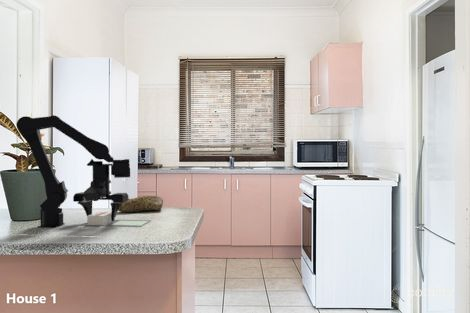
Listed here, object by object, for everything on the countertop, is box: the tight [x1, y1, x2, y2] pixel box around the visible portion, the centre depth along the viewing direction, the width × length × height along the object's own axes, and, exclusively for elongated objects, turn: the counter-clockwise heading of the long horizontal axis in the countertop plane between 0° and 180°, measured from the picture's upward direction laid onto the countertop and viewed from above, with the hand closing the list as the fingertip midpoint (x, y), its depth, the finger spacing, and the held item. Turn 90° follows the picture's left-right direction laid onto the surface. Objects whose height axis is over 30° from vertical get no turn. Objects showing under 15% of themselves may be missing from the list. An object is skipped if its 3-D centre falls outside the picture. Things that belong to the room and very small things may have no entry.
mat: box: [79, 219, 152, 228], centre depth 139 cm, size 22×12×1 cm, turn 83°
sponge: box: [118, 195, 164, 213], centre depth 167 cm, size 13×8×20 cm
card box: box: [86, 211, 116, 225], centre depth 140 cm, size 6×9×3 cm, turn 173°
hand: (101, 220), depth 140 cm, fingers open, 8 cm apart
